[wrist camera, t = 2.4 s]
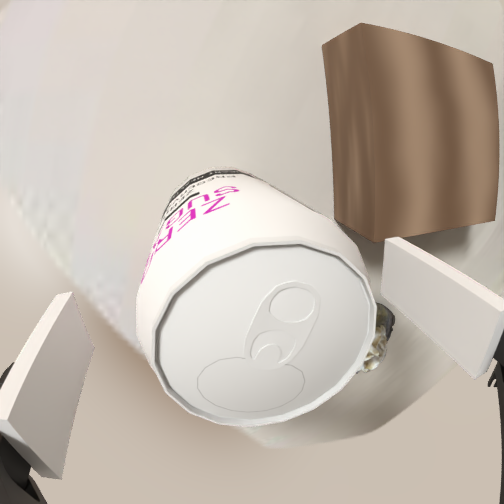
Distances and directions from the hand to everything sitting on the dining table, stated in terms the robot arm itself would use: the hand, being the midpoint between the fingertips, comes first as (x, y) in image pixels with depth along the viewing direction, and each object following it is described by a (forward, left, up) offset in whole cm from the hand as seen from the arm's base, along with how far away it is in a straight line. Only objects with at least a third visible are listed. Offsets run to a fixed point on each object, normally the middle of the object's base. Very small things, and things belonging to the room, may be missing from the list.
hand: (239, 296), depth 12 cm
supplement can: (0, 0, -12) cm, 12 cm away
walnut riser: (-16, -6, -11) cm, 21 cm away
